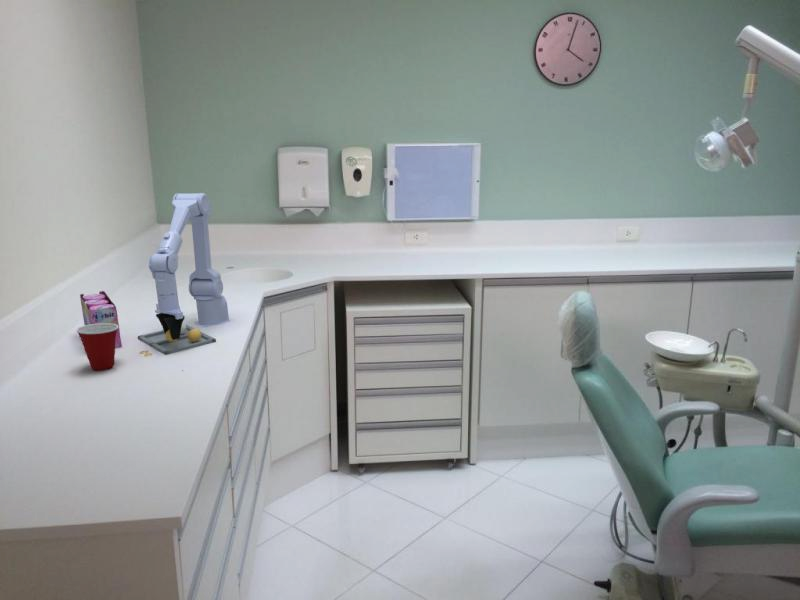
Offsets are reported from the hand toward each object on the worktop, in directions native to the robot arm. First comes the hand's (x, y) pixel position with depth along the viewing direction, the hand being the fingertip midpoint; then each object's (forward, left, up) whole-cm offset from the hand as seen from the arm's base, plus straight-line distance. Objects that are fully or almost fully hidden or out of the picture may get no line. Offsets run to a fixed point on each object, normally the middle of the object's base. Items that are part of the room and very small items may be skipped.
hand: (172, 337), depth 205 cm
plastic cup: (+21, +1, -4) cm, 21 cm away
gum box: (+13, -23, -4) cm, 27 cm away
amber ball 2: (-6, +1, -3) cm, 7 cm away
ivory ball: (-6, -10, -3) cm, 12 cm away
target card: (+9, 0, -3) cm, 9 cm away
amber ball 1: (0, 0, -1) cm, 1 cm away
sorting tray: (-3, -5, -3) cm, 7 cm away
